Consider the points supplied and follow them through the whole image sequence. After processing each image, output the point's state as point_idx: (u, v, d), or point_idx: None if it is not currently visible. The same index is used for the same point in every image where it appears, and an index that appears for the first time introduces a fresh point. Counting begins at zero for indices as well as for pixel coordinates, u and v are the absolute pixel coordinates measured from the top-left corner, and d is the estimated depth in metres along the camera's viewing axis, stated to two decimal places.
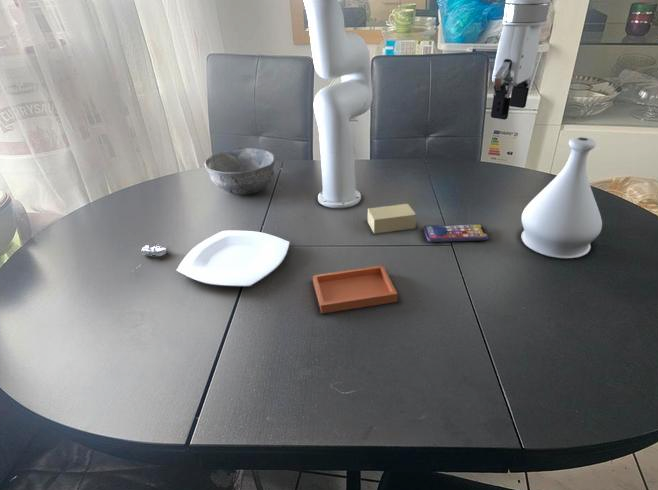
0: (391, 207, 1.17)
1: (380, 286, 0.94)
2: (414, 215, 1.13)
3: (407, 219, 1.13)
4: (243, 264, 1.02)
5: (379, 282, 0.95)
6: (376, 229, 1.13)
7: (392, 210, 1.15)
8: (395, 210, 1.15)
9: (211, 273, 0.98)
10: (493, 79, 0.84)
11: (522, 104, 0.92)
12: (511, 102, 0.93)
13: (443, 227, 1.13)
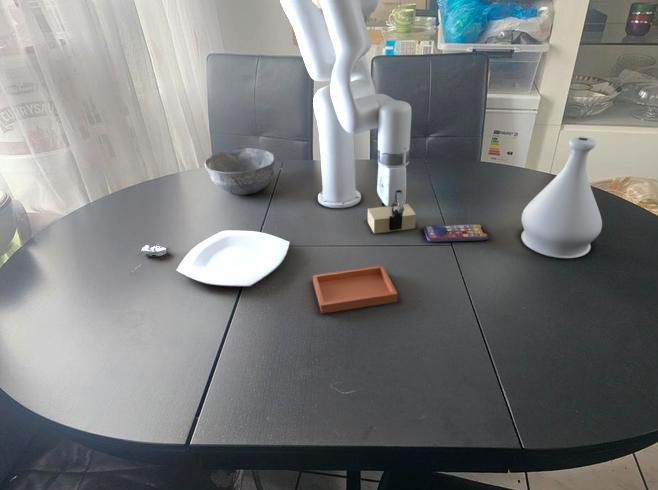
0: None
1: (380, 286, 0.94)
2: (414, 215, 1.13)
3: (407, 219, 1.13)
4: (243, 264, 1.02)
5: (379, 282, 0.95)
6: (376, 229, 1.13)
7: None
8: None
9: (211, 273, 0.98)
10: (389, 205, 1.08)
11: None
12: None
13: (443, 227, 1.13)
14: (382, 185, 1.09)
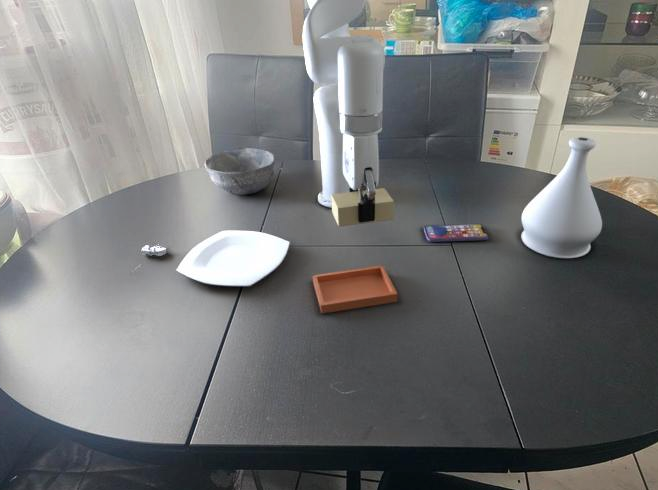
0: None
1: (380, 286, 0.94)
2: (392, 202, 0.85)
3: (382, 208, 0.86)
4: (243, 264, 1.02)
5: (379, 282, 0.95)
6: (341, 221, 0.85)
7: None
8: None
9: (211, 273, 0.98)
10: (356, 187, 0.80)
11: None
12: None
13: (443, 227, 1.13)
14: (347, 161, 0.81)
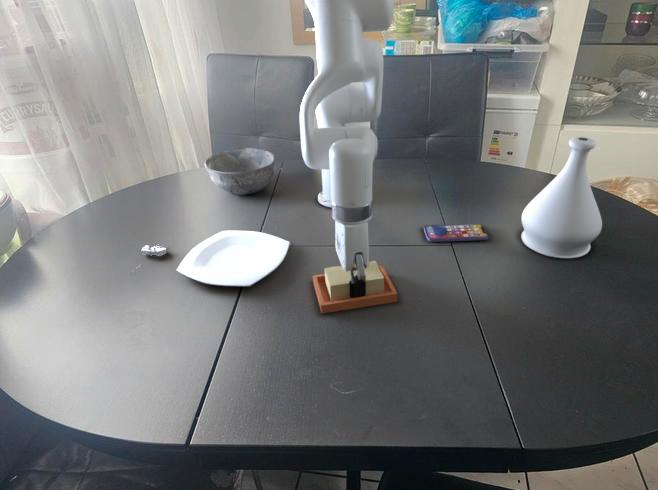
0: (354, 266, 0.93)
1: None
2: (382, 279, 0.89)
3: (373, 284, 0.89)
4: (243, 264, 1.02)
5: None
6: (333, 297, 0.89)
7: (354, 271, 0.91)
8: None
9: (211, 273, 0.98)
10: (347, 270, 0.84)
11: None
12: None
13: (443, 227, 1.13)
14: (339, 244, 0.85)
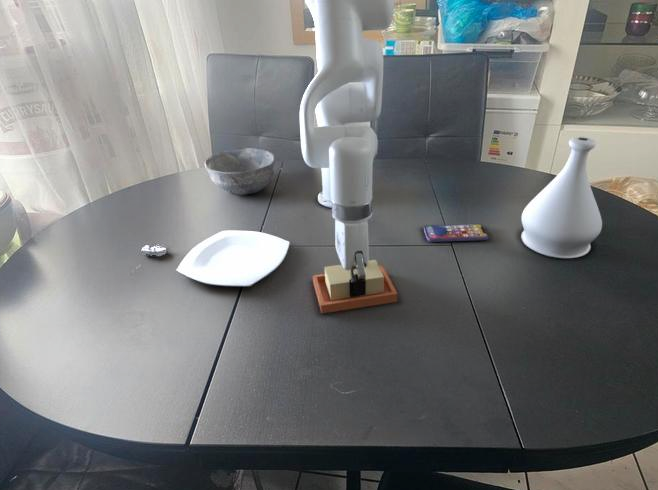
0: None
1: None
2: (382, 278, 0.89)
3: (373, 283, 0.89)
4: (243, 264, 1.02)
5: None
6: (333, 296, 0.89)
7: (354, 270, 0.91)
8: None
9: (211, 273, 0.98)
10: (347, 268, 0.84)
11: None
12: None
13: (443, 227, 1.13)
14: (339, 242, 0.85)
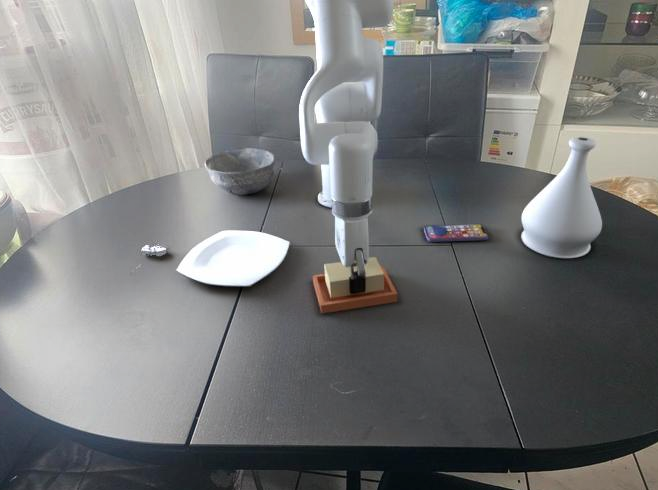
0: None
1: None
2: (382, 275, 0.89)
3: (373, 280, 0.89)
4: (243, 264, 1.02)
5: None
6: (333, 293, 0.89)
7: (354, 267, 0.91)
8: None
9: (211, 273, 0.98)
10: (347, 265, 0.84)
11: None
12: None
13: (443, 227, 1.13)
14: (339, 239, 0.85)
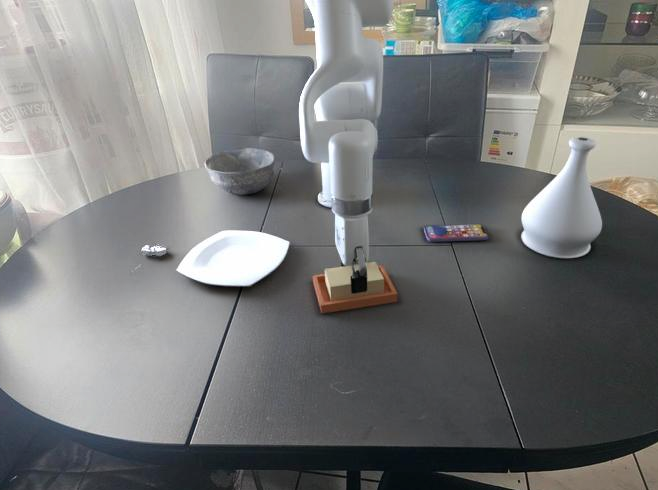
0: None
1: None
2: (382, 280, 0.89)
3: (373, 285, 0.90)
4: (243, 264, 1.02)
5: None
6: (333, 298, 0.89)
7: None
8: None
9: (211, 273, 0.98)
10: (347, 264, 0.83)
11: None
12: (343, 264, 0.94)
13: (443, 227, 1.13)
14: (339, 238, 0.84)
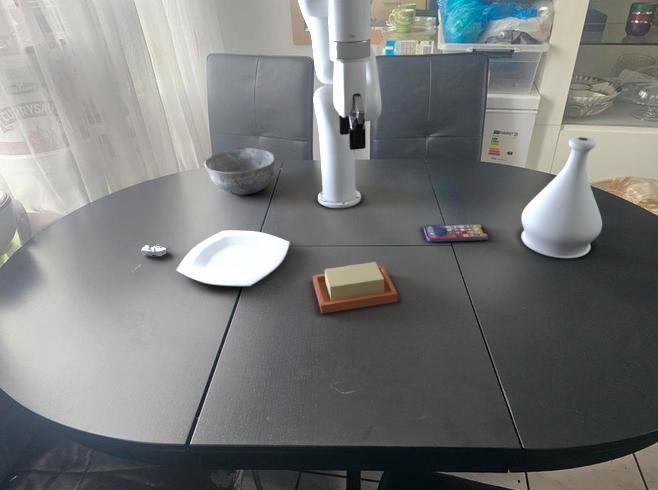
0: (354, 267, 0.93)
1: None
2: (382, 280, 0.89)
3: (373, 285, 0.90)
4: (243, 264, 1.02)
5: None
6: (333, 298, 0.89)
7: (354, 272, 0.91)
8: (358, 272, 0.91)
9: (211, 273, 0.98)
10: (345, 114, 0.85)
11: None
12: (341, 131, 0.96)
13: (443, 227, 1.13)
14: (337, 90, 0.86)
